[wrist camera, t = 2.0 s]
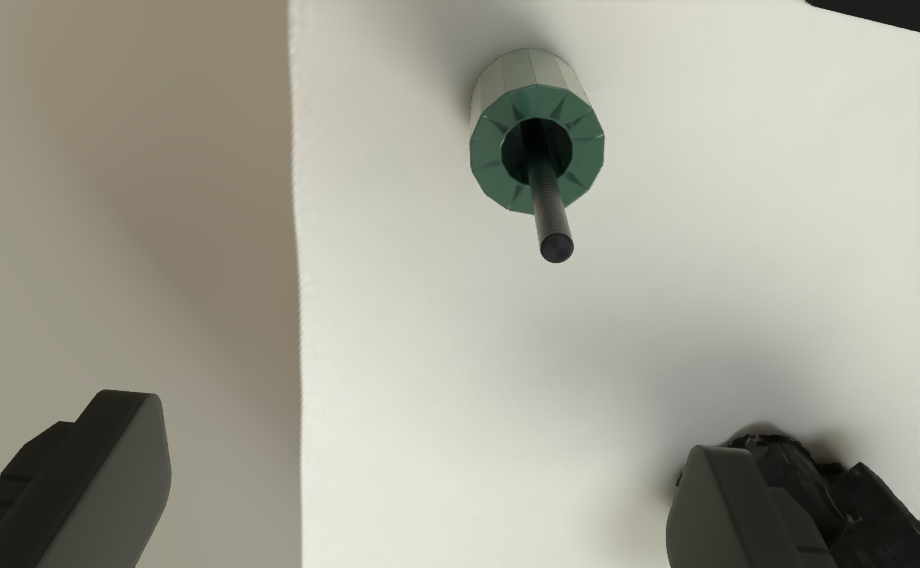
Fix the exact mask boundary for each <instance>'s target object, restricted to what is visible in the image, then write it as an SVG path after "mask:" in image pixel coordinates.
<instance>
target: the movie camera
mask: <svg viewBox="0 0 920 568" xmlns="http://www.w3.org/2000/svg"><path fill="white" fill-rule="evenodd" d="M751 439H753V440H754V441H755V443H756V445H757V446H765V447H768V451H767V453H766V454H765V456H763V457H762V458H760V459H758V460H755V461H756V463H757V465H758V467H759V469H760V472H761V474H762V476H763V478H764V480H765V482H766V484H767V486H768V487H778V488H784V489H785V490H786V491H787V492H788V493H789V494H790V495H791V496H792V497H793V499H794V500H795V501H796V502H797V503H798V504H799V505H800V506H801V507H802V508H803V509H804V510H805V511H806V512H807V513H808V514H809V515H810V516H811V517H812V519H813V521H814V523H815V525H816V527H817V528H818V530H819V532H820V534H821V536H822V538H823V540H824V542H825V544H826V546H827V548H828V555H832V557H833V559H834V561H835V563H836V565H837V567H838V568H920V521H919V520H917V519H916V518H915V517H914V516H913V515H912V514H911V513H910V512H909V510H908V509H907V508H906V507H905V505H904V504H903V503H902V502H901V501H900V500H899V499H898V498H897V497H896V496H895V495H894V494H893V493H892V491H891V490H890V489H889V487H888V486H887V485H886V484H885V483H884V482H883V480H882V479H881V478H880V477H879V476H877V475H876V474H875V473H874V472H873V471H872V470H870V469H869V468H868V467H867V466H866V465H864V464H863V463H862V462H859V463H857V464H856V465H855V466H854V467H852V468H851V469H850V470H849V471H847V470H846V469H845V467H844V466H843V465H842V464H841V463H832V464H822V465H821V464H818V463H816V462H815V460H814V459H813V458H812V457H811V456H810V455H811V454H810V453H809V452H808V450H807V451H806V450H805V449H806V448H804V447H803V446H802V445H801V443H800V442H798V441H792V440H790V439H789V438H787V437H785V436H779V435H769V436H768V435H758V436H756V435H754V436H753V435H750V434H747V435H746V436H744V437H740V438H737V439H735V440H734V441H732V444H731V445H729V444H728V446H727V447H726V448H737V449H745V448H746V445H747V443H748V441H749V440H751ZM681 476H682V473H681ZM681 476H680V478H679V479H678V480H677V481H678V482H677V484H676V486H677V487H678V485H679V482H680V479H681Z"/></svg>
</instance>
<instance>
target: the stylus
mask: <svg viewBox="0 0 920 568" xmlns="http://www.w3.org/2000/svg"><path fill="white" fill-rule="evenodd" d="M519 124H520V130H521V136H522V142H523V148H524V155H525V161H526V167H527V173H528V179H529V185H530V191H531V197H532V203H533V209H534V215H535V222H536V228H537V234H538V240H539V246H540V252H541V255H542V256H543V257H544V259H546V260H547V261H549V262H552V263H561V262H564V261H566V260H567V259H568V258H569V257H570V256H571V255H572V253H573V250H574V244H573V240H572V236H571V233H570V229H569V225H568V221H567V217H566V213H565V209H564V206H563V202H562V198H561V194H560V190H559V186H558V182H557V179H556V175H555V171H554V167H553V163H552V159H551V155H550V152H549V148H548V144H547V140H546V136H545V132H544V128H543V124H542V121H541V118H537V117H535V118H532V119H528V120H524V121H521V122H520V123H519Z"/></svg>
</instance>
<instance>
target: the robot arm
mask: <svg viewBox="0 0 920 568" xmlns="http://www.w3.org/2000/svg"><path fill="white" fill-rule="evenodd" d="M170 486H171V464H170V457H169V450H168V443H167V436H166V430H165V423H164V416H163V409H162V403H161V400H160V398H159V397H158V395H156V394H151V393H140V392H129V391H118V390H102V391H100V392H99V393H97V394H96V396H95V397H94V398H93V399H92V401H91V402H90V403H89V405H88V406H87V407H86V409H85V410H84V411H83V413H82V414H81V415H80V416H79V418H78V419H77V420H76V422H75V423H74V422H63V421H58V422H57V423H56V424H54V425H53V426H51V427H50V428H48V429H47V430H45V431H44V432H42V433H41V434H40V435H38V436H36V437H35V438H33V439H32V440H31V441H29V442H28V443H26V444H25V445H24V446H23V447H22V448H21V449H20V450H19V452H18V453H17V454H16V455H15V457H14V458H13V459H12V460H11V461H10V463H9V464H8V465H7V466H6V468H5V469H4V470H3V471H2V472H1V476H0V568H135V566H136V564H137V562H138V560H139V558H140V556H141V554H142V552H143V550H144V549H145V547H146V545H147V543H148V541H149V539H150V537H151V535H152V533H153V531H154V529H155V527H156V525H157V523H158V521H159V519H160V517H161V515H162V513H163V511H164V508H165V506H166V503H167V500H168V495H169V491H170ZM666 547H667V554H668V559H669V562H670V566H671V568H838V567H837V565H836V563H835V561H834V559H833V557H832V555H828V548H827V546H826V544H825V542H824V540H823V538H822V536H821V534H820V532H819V530H818V528H817V527H816V525H815V523H814V521H813V519H812V517H811V516H810V515H809V514H808V513H807V512H806V511H805V510H804V509H803V508H802V507H801V506H800V505H799V504H798V503H797V502H796V501H795V500H794V499H793V497H792V496H791V495H790V494H789V493H788V492H787V491H786V490H785V489H784V488H778V487H768V486H767V484H766V482H765V480H764V478H763V476H762V474H761V472H760V469H759V467H758V465H757V463H756V461H755V459H754V457H753V455H752V454H751V453H750V452H749V451H748V450H746V449H737V448H726V447H715V446H704V445H696V446H694V447H693V448H692V449H691V451H690V453H689V456H688V459H687V462H686V465H685V468H684V470H683V473H682V476H681V479H680V482H679V485H678V488H677V491H676V494H675V497H674V500H673V503H672V506H671V509H670V512H669V515H668V519H667V526H666Z"/></svg>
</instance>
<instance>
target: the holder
mask: <svg viewBox="0 0 920 568" xmlns="http://www.w3.org/2000/svg"><path fill="white" fill-rule="evenodd" d="M535 117H537V118H541V121H542V124H543V128H544V132H545V136H546V140H547V144H548V148H549V152H550V155H551V159H552V163H553V167H554V171H555V175H556V179H557V182H558V186H559V190H560V194H561V198H562V202H563V206H564V208H566V207H568V206H569V205H570V204H572V203H573V202H574V201H576V200H577V199H578V198H579V197H581V196H582V195H583V194H585V193H586V192H587V191H588V190H589V189H590V188H591V186H592V184H593V182H594V181H595V179H596V177H597V175H598V173H599V172H600V170H601V168H602V166H603V162H604V142H605V136H604V132H603V129H602V127H601V125H600V123H599V121H598V118H597V116H596V114H595V112H594V110H593V108H592V106H591V104H590V102H589V100H588V98H587V96H586V94H585V92H584V90H583V88H582V86H581V84H580V82H579V80H578V78H577V76H576V74H575V72H574V71H573V69H571V68H570V66H569V65H568V64H567V63H566V62H564V61H563V60H562V59H561V58H559V57H558V56H556V55H554V54H552V53H550V52H547V51H544V50H539V49H520V50H515V51H512V52H509V53H506V54H504V55H502V56H500V57H499V58H497V59H496V60H494V61H493V62H492V63H491V64H490V65H489V66H488V67H487V68H486V69H485V70H484V71H483V73H482V74H481V76H480V77H479V79H478V81H477V83H476V86H475V89H474V92H473V96H472V100H471V115H470V139H469V145H470V166H471V171H472V173H473V175H474V176H475V178H476V180H477V182H478V183H479V185H480V187H481V189H482V190H483V192H484V193H485V194H486V195H487V196H488V197H489V198H491V199H492V200H494V201H495V202H497V203H498V204H500V205H501V206H503V207H504V208H506V209H509V210H510V211H515V212H521V213H526V214H532V215H534V209H533V203H532V197H531V191H530V185H529V179H528V173H527V167H526V161H525V155H524V148H523V142H522V136H521V130H520V124H519V123H520V122H521V121H524V120H528V119H532V118H535Z"/></svg>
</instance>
